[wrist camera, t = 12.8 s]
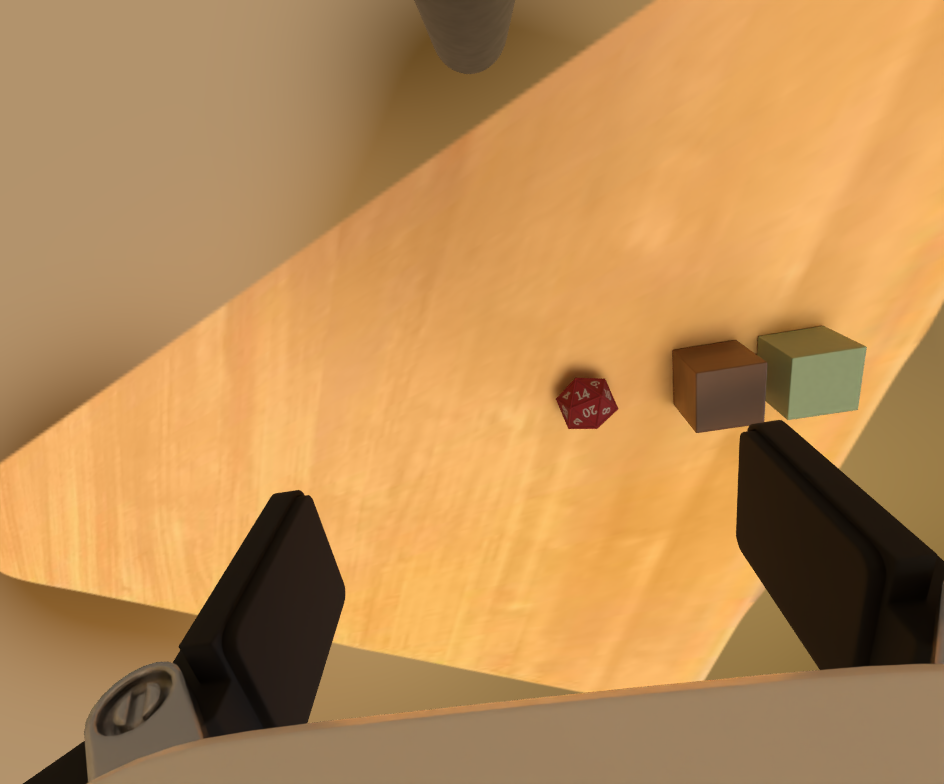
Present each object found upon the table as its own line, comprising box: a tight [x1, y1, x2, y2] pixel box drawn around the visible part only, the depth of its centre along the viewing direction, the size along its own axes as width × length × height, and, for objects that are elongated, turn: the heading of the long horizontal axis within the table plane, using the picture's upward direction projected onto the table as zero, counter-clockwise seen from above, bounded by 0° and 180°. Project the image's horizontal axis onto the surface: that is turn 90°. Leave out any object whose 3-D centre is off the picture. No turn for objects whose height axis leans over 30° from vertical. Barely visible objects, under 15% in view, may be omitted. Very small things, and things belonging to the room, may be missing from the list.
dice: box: [556, 378, 618, 429], centre depth 37 cm, size 4×4×4 cm
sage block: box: [757, 326, 867, 420], centre depth 35 cm, size 4×4×4 cm
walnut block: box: [673, 340, 767, 433], centre depth 36 cm, size 4×4×4 cm
